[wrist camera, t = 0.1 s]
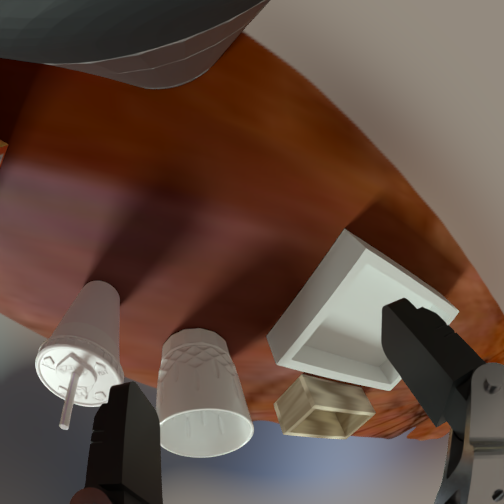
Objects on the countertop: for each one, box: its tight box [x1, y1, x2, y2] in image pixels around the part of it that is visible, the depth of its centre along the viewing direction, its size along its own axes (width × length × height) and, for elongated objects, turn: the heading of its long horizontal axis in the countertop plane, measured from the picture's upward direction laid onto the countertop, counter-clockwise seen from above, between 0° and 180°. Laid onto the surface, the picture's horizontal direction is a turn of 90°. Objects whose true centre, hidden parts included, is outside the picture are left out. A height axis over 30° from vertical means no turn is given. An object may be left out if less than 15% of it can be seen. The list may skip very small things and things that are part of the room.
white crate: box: [266, 229, 459, 391], centre depth 32 cm, size 18×13×4 cm
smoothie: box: [35, 281, 124, 430], centre depth 20 cm, size 6×6×14 cm
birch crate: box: [274, 374, 376, 439], centre depth 37 cm, size 11×6×5 cm, turn 58°
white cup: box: [156, 328, 254, 457], centre depth 27 cm, size 8×8×10 cm
